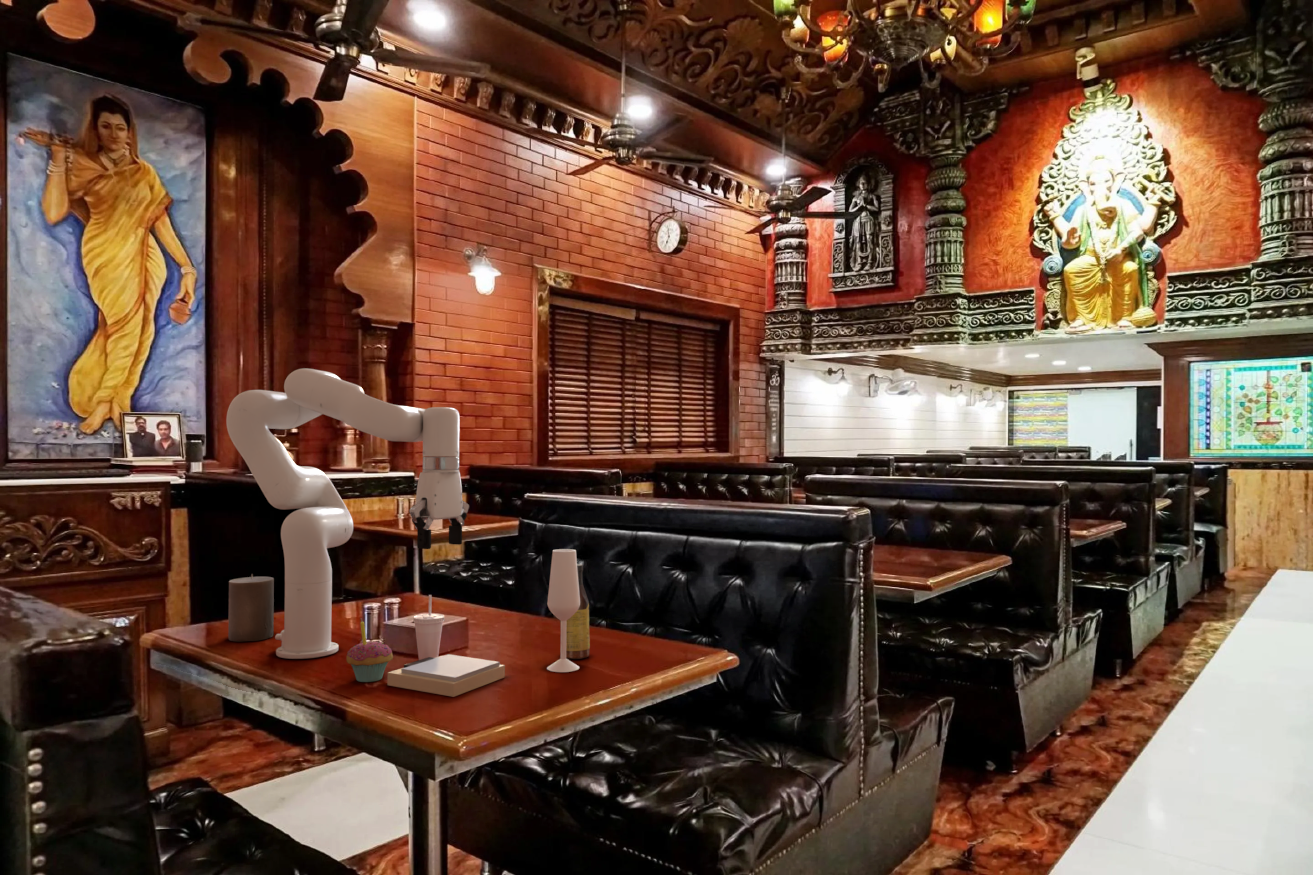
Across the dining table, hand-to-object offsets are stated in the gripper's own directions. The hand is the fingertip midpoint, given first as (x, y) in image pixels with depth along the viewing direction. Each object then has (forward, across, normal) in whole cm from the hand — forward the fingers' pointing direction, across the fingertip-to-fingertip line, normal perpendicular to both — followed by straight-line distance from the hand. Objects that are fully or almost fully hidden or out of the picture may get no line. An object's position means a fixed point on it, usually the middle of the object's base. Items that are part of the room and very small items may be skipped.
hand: (440, 546), depth 176 cm
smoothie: (+24, +2, -1) cm, 24 cm away
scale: (+24, +12, +12) cm, 29 cm away
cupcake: (+24, +17, -2) cm, 30 cm away
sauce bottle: (+24, -16, +24) cm, 38 cm away
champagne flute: (+24, -7, +26) cm, 37 cm away
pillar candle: (+24, +4, -54) cm, 59 cm away
